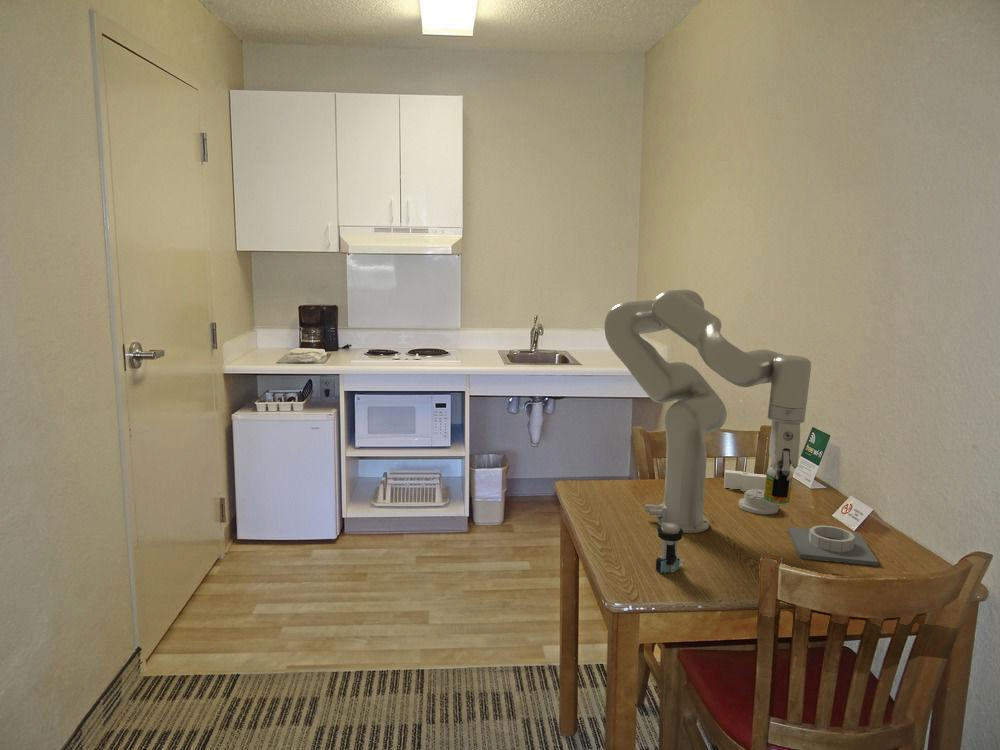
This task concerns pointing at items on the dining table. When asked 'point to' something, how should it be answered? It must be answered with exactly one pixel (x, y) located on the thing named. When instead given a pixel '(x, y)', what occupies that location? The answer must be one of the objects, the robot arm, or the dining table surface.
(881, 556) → the dining table surface
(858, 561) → the ring plate
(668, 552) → the push button
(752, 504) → the mechanical component
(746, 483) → the napkin holder
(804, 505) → the dining table surface
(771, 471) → the supplement bottle
